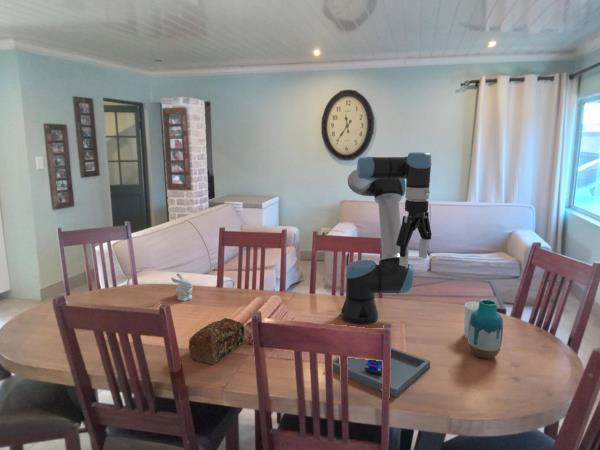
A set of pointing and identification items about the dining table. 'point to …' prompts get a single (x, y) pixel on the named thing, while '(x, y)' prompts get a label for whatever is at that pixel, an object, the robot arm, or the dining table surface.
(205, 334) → the bread
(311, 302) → the dining table surface
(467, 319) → the candle holder
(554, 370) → the dining table surface
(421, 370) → the tray
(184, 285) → the rabbit
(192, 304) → the dining table surface
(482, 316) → the vase
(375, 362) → the toy car
